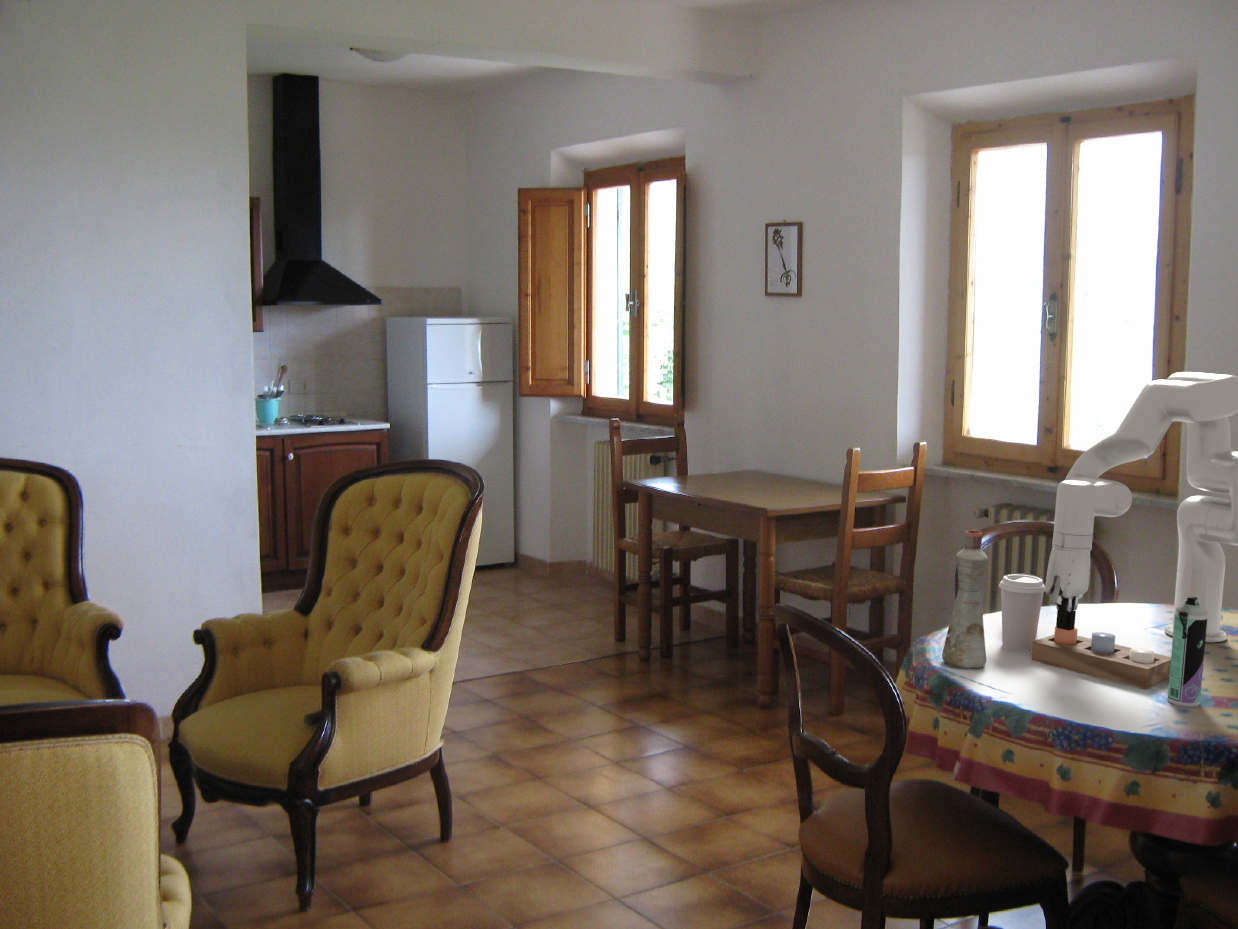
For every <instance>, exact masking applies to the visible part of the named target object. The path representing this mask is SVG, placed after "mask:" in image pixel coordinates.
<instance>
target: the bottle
mask: <svg viewBox="0 0 1238 929" xmlns="http://www.w3.org/2000/svg"><path fill="white" fill-rule="evenodd" d="M983 536H984V535H983V533H982V531H978V530H976V529H972V530H966V531H965V532H964V546H963V548H962V549H961V550H960V551H958V552H957V554H956V556H955V557H956V568H957V569H956V570H957V579H958V590H957V594H956V597H955V601H954V606H953V610H952V613H951V618H950V621H949V624H948V630H947V632H946V637H945V641H944V646H943V649H942V654H941V658H942V661H943V662H944V664H946V665H947V666H950V667H954V668H972V669H980V668H981V669H982V668H984V666H985V665H986V663H987V651H986V642H985V640H986V638H985V630H984V613H983V604H982V603H983V602H982V593H981V592H982V591H981V588H982V585H983V581H984V576H985V573H986V569H987V565H988V561H989V556H987V553H986V552H985V551H983V548H982V547H981V546H982V542H983Z"/></svg>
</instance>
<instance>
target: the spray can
mask: <svg viewBox="0 0 1238 929" xmlns="http://www.w3.org/2000/svg"><path fill="white" fill-rule="evenodd" d="M1197 599H1198V598H1197V597H1190V598H1187V601H1186V602H1185V603H1184V605H1182V606H1180V607H1177V608H1176V612H1175V618H1174V629H1173V636H1172V642H1171V652H1170V654H1171V655H1170V657H1171V664H1170V676H1169V680H1168V688H1167V689H1168V690H1167V701H1168V702H1169V703H1170V704H1173V705H1175V706H1180V707H1185V708H1186V707H1187V708H1196V707H1199V706H1200V704H1201V694H1202V682H1203V672H1204V660H1205V659H1204V658H1205V649H1206V642H1205V640H1206V629H1207V618H1208V616H1207V611H1206V610H1204V609H1203V608H1202V607H1200V604H1199V603H1198V602H1197Z"/></svg>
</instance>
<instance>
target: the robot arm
mask: <svg viewBox="0 0 1238 929" xmlns="http://www.w3.org/2000/svg"><path fill="white" fill-rule="evenodd" d="M1237 413H1238V375H1233V374H1223V373H1222V374H1221V373H1220V374H1219V373H1210V372H1198V371H1197V372H1196V371H1195V372H1194V371H1181V372H1180V371H1179V372H1175V373H1172V374H1171V375H1169V376H1168V377H1167V378H1166V379H1156V380H1152V381H1149V382H1148V383H1147V384H1145V386H1144V387H1143V388H1142V390H1141V391H1140V393H1139V394H1138V396H1137V397H1136V399H1135V401H1134V402H1133V404H1132V406H1131V407H1130V409H1129V411H1128V412H1127V414H1126V415H1125V417H1124V419H1123V420H1122V421H1121V423H1120V425H1119V426H1118V428H1117V430H1116V431H1115V432H1113V434H1110V435H1109V436H1107V437H1106V438H1104V439H1102V440H1100V441H1098V442H1097V443H1096V444H1094V445H1092V447H1089V448H1088V449H1087V450H1086V451H1084V452H1083V453H1081V455H1080V456H1078V458H1077V459H1076V460H1075V462H1074V463H1073V465H1072V467H1071V468H1070V470H1069V472H1068V474H1067V475H1066V477H1065V479H1064V480H1061V481H1060V482H1059V483H1058V485H1057V488H1056V498H1055V509H1054V510H1055V511H1054V523H1053V524H1054V525H1053V533H1052V534H1053V536H1052V548H1051V552H1050V554H1049V560H1048V563H1047V564H1048V566H1047V571H1046V577H1045V584H1044V585H1045V592H1044V593H1045V594H1046V595H1051V596H1052V598H1051V602H1052V603H1053V604H1056V605H1055V606H1056V607H1055V608H1056V610H1057V611H1056V621H1055V622H1056V624H1055V626H1056V627H1057V628H1060V629H1065V630H1072V629H1074V627H1075V624H1076V613H1077V609H1078V604H1079V600H1081V599H1082V598H1083V597H1084V594H1086V593H1087V592H1088V590H1089V585H1090V577H1091V576H1090V575H1091V551H1092V547H1093V545H1092V544H1093V537H1094V536H1093V535H1094V534H1093V533H1094V523H1095V517H1099V516H1100V517H1108V518H1115V517H1116V518H1117V517H1120V516H1123V515H1124V514H1125V513H1126V512H1127V511H1129V509H1130V507H1131V505H1132V504H1133V494H1132V492H1131V490H1130V488H1129V487H1128V486H1127V485H1126V484H1124V483H1122V482H1119V481H1116V480H1112V479H1105V478H1100V476H1101V475H1102V474H1104V473H1106V472H1107V471H1108V470H1110V469H1113V468H1114V467H1117V466H1119V465H1120V466H1121V465H1123V464H1126V463H1130V462H1135V461H1138V460H1141V459H1145V458H1147V457H1150V456H1151V455H1153V454H1154V452H1155V451H1156V449H1157V448H1158V446H1159V444H1160V443H1161V442H1162V440H1163V438H1164V437H1165V435H1166V433H1167V432H1168V430H1169V429H1170V427H1171V425H1172V423H1174V422H1182V423H1183V422H1184V423H1185V424H1186V429H1187V442H1186V443H1187V444H1186V445H1187V447H1186V448H1187V449H1186V478H1187V479H1186V480H1187V482H1188V484H1189V485H1190V486H1191V487H1192V488H1194V489H1198V490H1201V491H1205V492H1211V493H1216V494H1223V495H1227V496H1228V495H1229V498H1230V499H1225V498H1222V497H1216V496H1215V497H1214V496H1208V495H1191V496H1189V497H1186V498H1184V500H1182V501H1181V503H1179V506H1178V507H1177V508H1178V509H1177V511H1176V523H1177V531H1178V560H1177V571H1176V581H1175V596H1174V604H1173V616H1172V617H1173V618H1172V623H1169V624H1167V625H1165V626H1164V632H1165V634H1167V635H1169V636H1171V637H1173V629H1174V618H1175V612H1176V608H1177V607H1180V606H1182V605H1184V603H1185V602H1186V601H1187V598H1190V597H1197V598H1198V599H1197V602H1198V603H1199V604H1200V607H1202V608H1203V609H1204V610H1206V611H1207V616H1208V618H1207V629H1206V640H1205V643H1221V642H1224V641H1226V640H1227V637H1228V636H1227V633H1226V632H1225V631H1224V630H1221V629H1220V626H1221V622H1223V621H1224V616H1223V614H1222V613H1221V612H1222V604H1223V594H1224V585H1225V584H1224V581H1225V574H1226V573H1225V570H1226V556H1225V553H1224V550H1223V547H1222V546H1221V543H1222V544H1227V545H1232V546H1236V547H1237V546H1238V451H1237V450H1236V451H1235V450H1232V447H1231V446H1232V445H1231V424H1230V421H1229V418H1228V417H1232V416H1234V415H1236V414H1237ZM1075 628H1076V627H1075Z"/></svg>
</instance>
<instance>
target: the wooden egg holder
mask: <svg viewBox="0 0 1238 929" xmlns="http://www.w3.org/2000/svg"><path fill="white" fill-rule="evenodd" d="M1091 640H1092V638H1090V637H1086V636H1081V635H1077V644H1075V645H1072V646H1069V645H1065V644H1061V643H1057V642H1054V634H1051V635H1048V636H1044V637H1042V638H1039V639H1036V640H1035V641H1033V642H1032V650H1031V659H1030V660H1031V661H1033V662H1036V663H1041V664H1044V665H1049V666H1052V667H1057V668H1060V669H1064V670H1067V671H1068V670H1069V671H1072V672H1076V673H1081V674H1085V675H1088V676H1092V677H1095V678H1100V679H1104V680H1108V681H1112V682H1115V683H1119V684H1124V685H1127V686H1132V687H1135V688H1139V689H1143V690H1147V689H1150V688H1152V687H1155V686H1157V685H1160V684H1162V683H1164V682H1167V681H1169V676H1170V664H1171V656H1169V655H1163V654H1159V653H1155V652H1154V662H1153V663H1151V664H1145V663H1141V662H1137V661H1132V660H1129V656H1130V649H1132V648H1133V647H1129V646H1125V645H1121V644H1116V643H1115V647H1114V653H1113V654H1110V655H1107V654H1103V653H1099V652H1095V651H1091Z"/></svg>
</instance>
